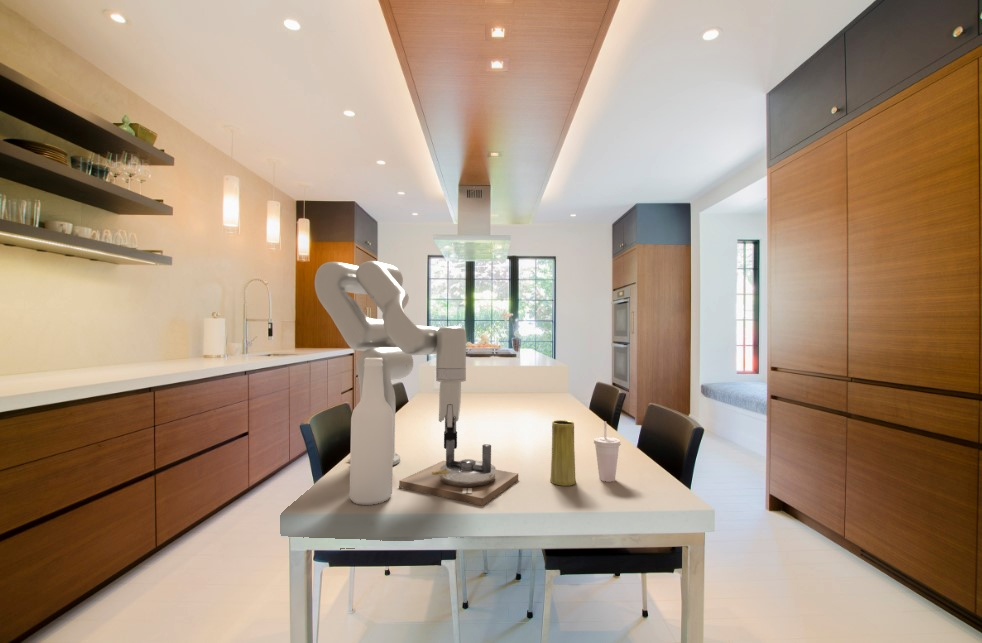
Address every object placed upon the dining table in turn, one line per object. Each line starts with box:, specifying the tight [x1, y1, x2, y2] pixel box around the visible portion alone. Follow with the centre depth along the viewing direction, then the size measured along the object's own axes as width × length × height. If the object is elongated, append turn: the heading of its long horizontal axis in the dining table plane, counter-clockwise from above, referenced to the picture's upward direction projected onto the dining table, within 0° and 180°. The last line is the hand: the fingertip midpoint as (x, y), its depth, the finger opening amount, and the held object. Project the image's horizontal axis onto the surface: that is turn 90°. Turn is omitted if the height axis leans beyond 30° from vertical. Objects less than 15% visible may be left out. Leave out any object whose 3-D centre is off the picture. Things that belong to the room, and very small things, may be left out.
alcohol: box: [349, 358, 394, 506], centre depth 90 cm, size 9×9×30 cm
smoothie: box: [593, 421, 622, 483], centre depth 103 cm, size 6×6×14 cm
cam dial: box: [432, 439, 496, 487], centre depth 98 cm, size 13×14×8 cm
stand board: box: [398, 460, 519, 506], centre depth 99 cm, size 22×18×2 cm
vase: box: [549, 419, 577, 487], centre depth 101 cm, size 6×6×14 cm
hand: (450, 447), depth 106 cm, fingers closed
